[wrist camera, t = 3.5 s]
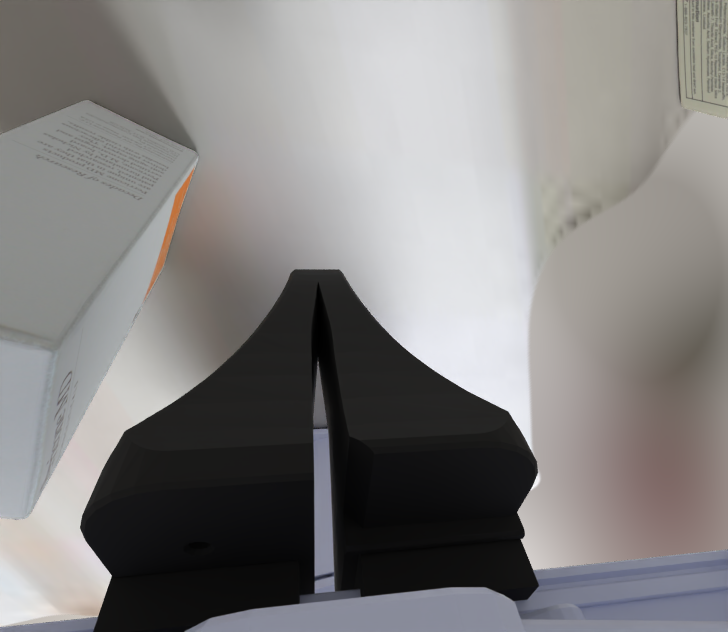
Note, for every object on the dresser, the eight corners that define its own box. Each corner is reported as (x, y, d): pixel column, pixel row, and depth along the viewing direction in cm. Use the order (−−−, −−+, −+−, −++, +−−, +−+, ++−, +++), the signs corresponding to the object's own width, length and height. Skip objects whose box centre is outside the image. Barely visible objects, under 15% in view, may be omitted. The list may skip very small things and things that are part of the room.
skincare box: (167, 268, 19) (27, 528, 9) (63, 231, 17) (-232, 499, 8) (205, 149, 16) (61, 353, 6) (85, 91, 14) (-344, 249, 5)
